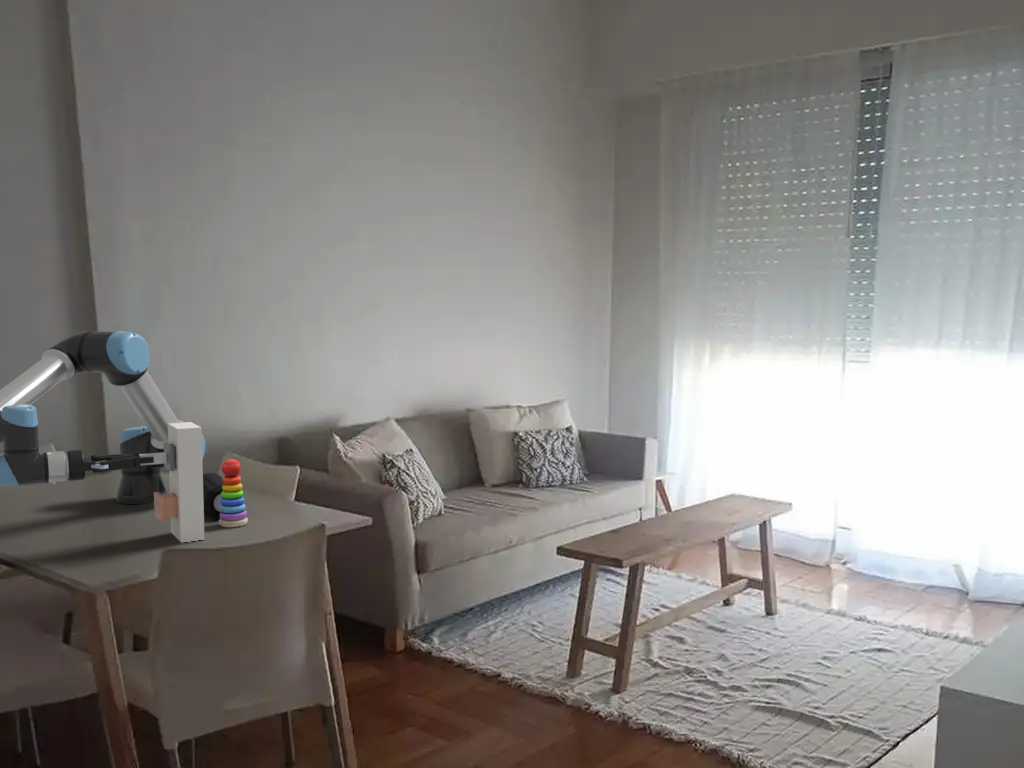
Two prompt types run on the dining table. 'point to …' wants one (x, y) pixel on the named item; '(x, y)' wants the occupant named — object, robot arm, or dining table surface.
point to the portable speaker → (212, 493)
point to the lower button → (165, 506)
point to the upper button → (170, 456)
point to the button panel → (187, 481)
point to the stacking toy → (232, 496)
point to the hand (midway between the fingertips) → (165, 457)
